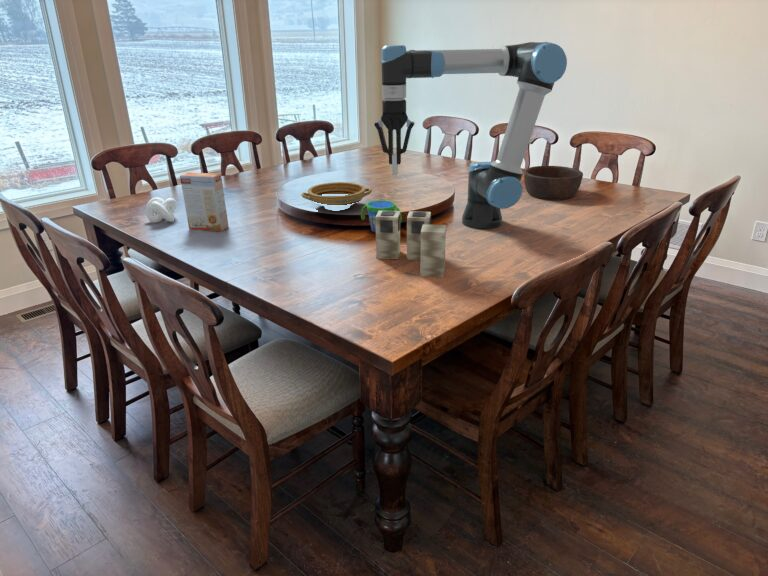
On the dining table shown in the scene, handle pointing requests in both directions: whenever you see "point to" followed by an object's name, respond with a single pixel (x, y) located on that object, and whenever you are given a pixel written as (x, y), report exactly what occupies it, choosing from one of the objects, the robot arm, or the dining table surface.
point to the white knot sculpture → (160, 209)
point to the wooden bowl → (552, 182)
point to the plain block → (432, 250)
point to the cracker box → (204, 201)
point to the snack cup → (375, 207)
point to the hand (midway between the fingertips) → (395, 174)
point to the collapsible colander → (351, 189)
